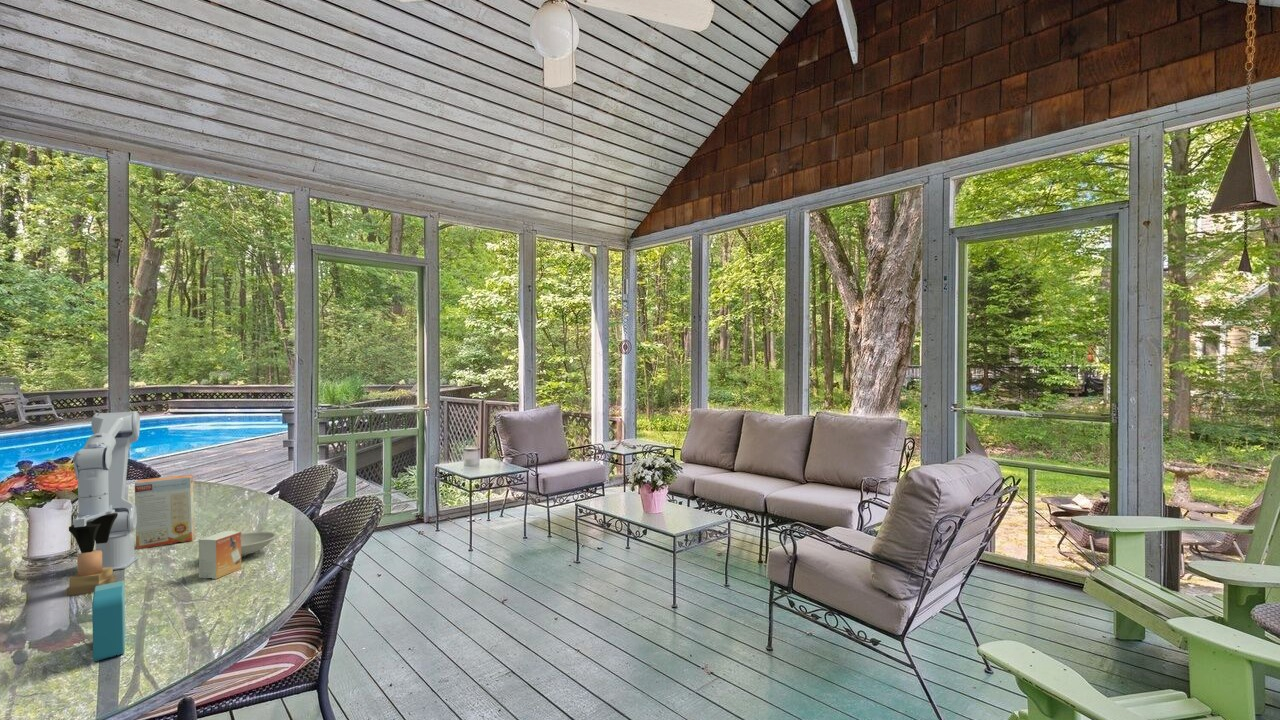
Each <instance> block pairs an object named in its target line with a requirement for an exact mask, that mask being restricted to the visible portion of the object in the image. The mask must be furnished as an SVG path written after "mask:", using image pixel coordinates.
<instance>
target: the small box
mask: <svg viewBox="0 0 1280 720" xmlns="http://www.w3.org/2000/svg"><path fill="white" fill-rule="evenodd" d="M241 534H242V532H241V531H234V530H233V531H232V530H224V531H221V532H218V533H215V534H213V535H212V534H211V535H209V536H207V537H203V538H200V539H198V578H199V579H207V578H212V579H211V580H217V579H219V578H222V577H224V576H227V575H229V574H232V573H234V572H237V571H240V570H242V557H241Z"/></svg>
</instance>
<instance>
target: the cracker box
mask: <svg viewBox="0 0 1280 720" xmlns="http://www.w3.org/2000/svg"><path fill="white" fill-rule="evenodd" d="M194 495H195V494H194V475H193V474H186V475H185V474H183V475H173V476H163V477H153V478H145V479H138V480H137V481H136V482H134V505H135V506H136V514H137V524H136V528H135V543H136V544H135V545H136V546H135V547H136V550H137V549H138V550H139V549H140V550H141V549H147V548H151V547H152V548H153V546H154V547H159V545H160V546H166V545H165V544H167V545H172V544H171V543H174V544H177V543H176V542H181V543H185V542H184V541H189V542H193V539H194V538H195V537H196V535H195V534H196V532H195V531H196V530H195V507H194V506H195V505H194V504H195V501H194V498H195V497H194ZM194 536H195V537H194Z"/></svg>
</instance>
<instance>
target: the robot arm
mask: <svg viewBox="0 0 1280 720" xmlns="http://www.w3.org/2000/svg"><path fill="white" fill-rule="evenodd" d="M140 417H141V416H140V414H139V412H137V410H134V411H123V412H122V411H121V412H119V411H118V412H102V413H100V412H96V413H94V414H93V416H92V417H91V430H92V431H91V432H93V434H92V435H91V436H90V437H88V439H87V440H86V442H85V444H84V446H83V448H81V449H79V450H78V451H75V453H74V454H73V468H74V474H75V479H76V480H77V495H78V496H77V502H78V503H77V505H78V509H77V510H78V513H77V514H76V518H75V519H74V520H73V521H74V522H73V525H70V526H68V532H70V534H72V537H74V538H75V541H76V543H77V546H78V548H79V551H80V554H81V553H87V552H92V551H94V549H95V551H96V550H101V551H102V568H107V567H113V571H115V570H116V571H117V570H123V569H126V568H128V567H129V566H130V565H131V564H133V563H135V562H136V561H137V560H138V559H139V557H140V556H136V555H135V537H134V534H133V533H131V532H134V531H135V530H136V524H137V514H136V506H135V503H133V502H131V501H129V500H127V499H125V498H126V485H127V473H128V461H129V452H130V448H131V444H133V443H135V442H137V441H138V440H139V437H140V427H141V418H140Z"/></svg>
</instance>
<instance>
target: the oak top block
mask: <svg viewBox="0 0 1280 720" xmlns="http://www.w3.org/2000/svg"><path fill="white" fill-rule="evenodd" d="M113 573H114V570H113V567H107V568H103V571H102V572H100V573H97V574H94V575H89V576H78V572H77V573H76V574H73V575H72V576H70V577H69V578H68V581H69V583H68V584H69V585H68V587H69V588H70V587H80V586H90V585H99V584H101V583H102V582H104V581H106V580H107V579H109V578H110V577H112V576H113V575H114V574H113Z"/></svg>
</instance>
